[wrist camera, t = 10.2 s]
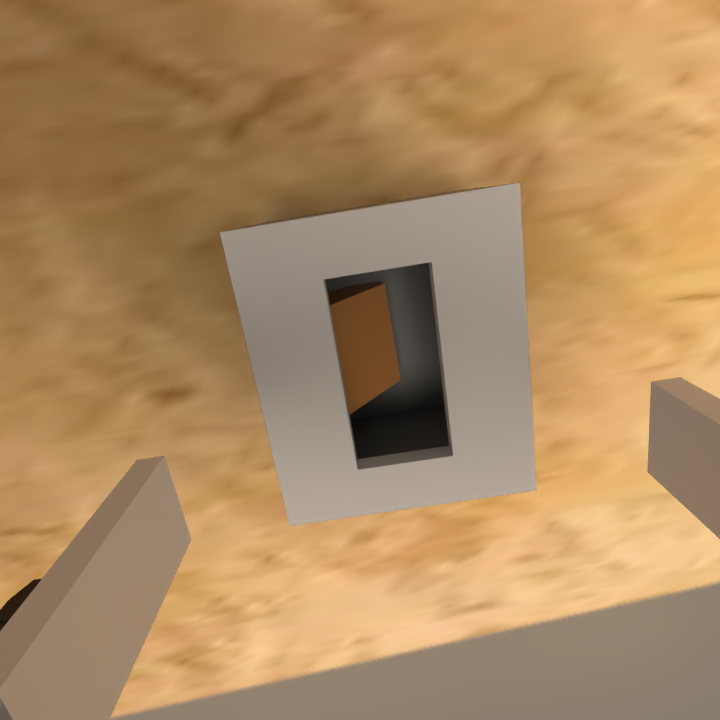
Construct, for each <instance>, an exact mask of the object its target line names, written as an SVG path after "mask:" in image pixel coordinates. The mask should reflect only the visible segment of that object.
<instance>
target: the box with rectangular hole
mask: <svg viewBox="0 0 720 720" xmlns="http://www.w3.org/2000/svg"><path fill="white" fill-rule="evenodd" d="M220 236H221V240H222V244H223V248H224V252H225V257H226V261H227V265H228V269H229V273H230V278H231V282H232V286H233V290H234V294H235V299H236V303H237V307H238V311H239V315H240V320H241V324H242V328H243V332H244V336H245V341H246V345H247V349H248V353H249V357H250V362H251V366H252V370H253V374H254V378H255V383H256V387H257V391H258V395H259V399H260V404H261V408H262V412H263V416H264V420H265V425H266V429H267V433H268V437H269V441H270V446H271V450H272V454H273V458H274V462H275V467H276V471H277V475H278V479H279V483H280V488H281V492H282V496H283V500H284V504H285V509H286V513H287V517H288V521H289V525H290V526H293V525H300V524H307V523H314V522H320V521H327V520H334V519H341V518H348V517H355V516H362V515H369V514H376V513H383V512H390V511H397V510H404V509H411V508H418V507H425V506H432V505H439V504H446V503H453V502H460V501H467V500H474V499H481V498H488V497H495V496H502V495H509V494H516V493H523V492H529V491H536V473H535V454H534V436H533V417H532V399H531V380H530V362H529V343H528V325H527V306H526V288H525V269H524V251H523V232H522V214H521V195H520V183H514V184H506V185H499V186H491V187H483V188H475V189H467V190H460V191H454V192H448V193H442V194H436V195H430V196H424V197H418V198H412V199H406V200H400V201H394V202H388V203H382V204H376V205H369V206H363V207H357V208H351V209H345V210H339V211H333V212H327V213H321V214H315V215H309V216H303V217H297V218H291V219H285V220H279V221H273V222H267V223H261V224H257V225H252V226H247V227H243V228H238V229H233V230H228V231H224V232H220ZM380 283H385V289H386V295H387V301H388V307H389V313H390V319H391V325H392V331H393V336H394V342H395V348H396V354H397V360H398V366H399V372H400V378H401V380H400V381H398V382H397V383H395V384H394V385H392V386H391V387H390V388H388V389H387V390H385V391H384V392H382V393H381V394H379V395H378V396H376V397H375V398H373V399H372V400H370V401H369V402H367V403H366V404H365V405H363V406H362V407H360V408H359V409H357V410H356V411H354V412H353V413H351V414H349V409H348V403H347V398H346V392H345V387H344V381H343V375H342V370H341V364H340V359H339V353H338V347H337V342H336V336H335V331H334V325H333V320H332V314H331V308H330V303H329V297H328V294H329V293H332V292H335V291H337V290H340V289H342V288H345V287H348V286H350V285H362V284H380Z"/></svg>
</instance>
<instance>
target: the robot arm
mask: <svg viewBox="0 0 720 720" xmlns="http://www.w3.org/2000/svg"><path fill="white" fill-rule="evenodd" d="M648 473H649V474H650V475H651V476H652V477H654V478H655V479H656V480H657V481H658V482H659V483H660V484H661V485H662V486H663V487H664V488H665V489H666V490H668V491H669V492H670V493H671V494H672V495H673V496H674V497H675V498H676V499H677V500H678V501H679V502H680V503H682V504H683V505H684V506H685V507H686V508H687V509H688V510H689V511H690V512H691V513H692V514H693V515H694V516H696V517H697V518H698V519H699V520H700V521H701V522H702V523H703V524H704V525H705V526H706V527H707V528H709V529H710V530H711V531H712V532H713V533H714V534H715V535H716V536H717V537H718V538H719V539H720V399H719V398H717V397H715V396H713V395H712V394H710V393H708V392H706V391H704V390H702V389H701V388H699V387H697V386H695V385H693V384H692V383H690V382H688V381H686V380H684V379H683V378H681V377H679V378H673V379H666V380H660V381H653V382H651V397H650V423H649V449H648ZM190 541H191V537H190V533H189V530H188V527H187V524H186V521H185V518H184V515H183V512H182V509H181V506H180V503H179V500H178V497H177V493H176V490H175V487H174V484H173V481H172V478H171V475H170V472H169V469H168V466H167V463H166V460H165V457H164V456H160V457H154V458H147V459H141V460H136V462H135V463H134V464H133V465H132V467H131V468H130V469H129V470H128V472H127V473H126V474H125V475H124V477H123V478H122V479H121V480H120V482H119V483H118V484H117V485H116V487H115V488H114V489H113V490H112V492H111V493H110V494H109V496H108V497H107V498H106V499H105V501H104V502H103V503H102V504H101V506H100V507H99V508H98V509H97V511H96V512H95V513H94V514H93V516H92V517H91V518H90V519H89V521H88V522H87V523H86V524H85V526H84V527H83V528H82V529H81V531H80V532H79V533H78V534H77V536H76V537H75V538H74V539H73V541H72V542H71V543H70V544H69V546H68V547H67V548H66V549H65V551H64V552H63V553H62V554H61V556H60V557H59V558H58V559H57V561H56V562H55V563H54V564H53V566H52V567H51V568H50V569H49V571H48V572H47V573H46V574H45V576H44V577H43V578H42V579H37V580H33V581H32V582H31V583H29V584H28V585H27V586H26V587H24V588H23V589H22V590H21V591H19V592H18V593H17V594H16V595H14V596H13V597H12V598H11V599H9V600H8V601H7V603H6V604H5V605H4V606H3V607H2V609H1V610H0V720H109V718H110V716H111V714H112V712H113V710H114V708H115V705H116V703H117V701H118V699H119V697H120V694H121V692H122V690H123V688H124V686H125V683H126V681H127V679H128V677H129V675H130V672H131V670H132V668H133V666H134V664H135V661H136V659H137V657H138V655H139V653H140V651H141V648H142V646H143V644H144V642H145V640H146V637H147V635H148V633H149V631H150V629H151V626H152V624H153V622H154V620H155V618H156V615H157V613H158V611H159V609H160V607H161V604H162V602H163V600H164V598H165V596H166V594H167V591H168V589H169V587H170V585H171V583H172V580H173V578H174V576H175V574H176V572H177V569H178V567H179V565H180V563H181V561H182V558H183V556H184V554H185V552H186V550H187V547H188V545H189V543H190Z"/></svg>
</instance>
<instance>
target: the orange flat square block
mask: <svg viewBox="0 0 720 720" xmlns="http://www.w3.org/2000/svg"><path fill="white" fill-rule="evenodd" d="M328 297H329V303H330V308H331V314H332V320H333V325H334V331H335V336H336V342H337V347H338V353H339V359H340V364H341V370H342V375H343V381H344V387H345V392H346V398H347V403H348V409H349V414H351V413H353V412H354V411H356V410H357V409H359V408H360V407H362V406H363V405H365V404H366V403H367V402H369V401H370V400H372V399H373V398H375V397H376V396H378V395H379V394H381V393H382V392H384V391H385V390H387V389H388V388H390V387H391V386H392V385H394V384H395V383H397V382H398V381H400V380H401V378H400V372H399V366H398V360H397V354H396V348H395V342H394V336H393V331H392V325H391V319H390V313H389V307H388V301H387V295H386V289H385V283H380V284H362V285H350V286H348V287H345V288H342V289H340V290H337V291H335V292H332V293H329V294H328Z"/></svg>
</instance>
